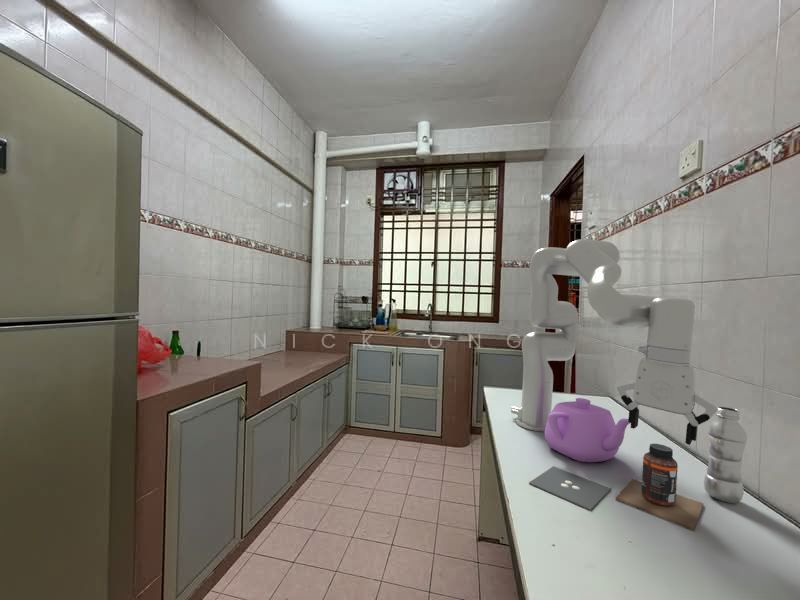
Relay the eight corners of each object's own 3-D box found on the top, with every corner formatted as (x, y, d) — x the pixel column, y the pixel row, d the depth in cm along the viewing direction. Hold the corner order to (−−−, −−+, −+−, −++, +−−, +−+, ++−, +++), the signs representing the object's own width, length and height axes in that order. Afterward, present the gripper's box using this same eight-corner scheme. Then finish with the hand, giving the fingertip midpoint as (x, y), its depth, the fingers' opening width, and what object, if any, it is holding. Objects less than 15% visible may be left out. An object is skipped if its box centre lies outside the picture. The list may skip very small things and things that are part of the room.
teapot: (524, 446, 102) (527, 394, 102) (575, 438, 111) (578, 389, 111) (598, 486, 81) (602, 420, 81) (653, 472, 90) (657, 413, 90)
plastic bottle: (695, 490, 82) (700, 404, 82) (722, 491, 82) (727, 405, 82) (723, 507, 75) (728, 413, 75) (752, 507, 76) (757, 414, 76)
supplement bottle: (681, 510, 72) (685, 454, 72) (649, 505, 74) (652, 450, 74) (665, 494, 78) (669, 443, 78) (635, 490, 79) (639, 439, 79)
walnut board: (615, 499, 76) (615, 497, 76) (632, 480, 85) (632, 478, 85) (693, 530, 66) (693, 528, 66) (703, 505, 75) (703, 503, 75)
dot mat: (528, 483, 81) (529, 482, 81) (553, 467, 90) (553, 466, 90) (590, 510, 71) (590, 509, 71) (611, 489, 80) (611, 488, 80)
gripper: (616, 350, 79) (609, 425, 80) (719, 365, 67) (711, 455, 67) (626, 347, 85) (619, 418, 85) (723, 361, 72) (715, 444, 73)
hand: (660, 434), depth 76 cm, fingers open, 9 cm apart
